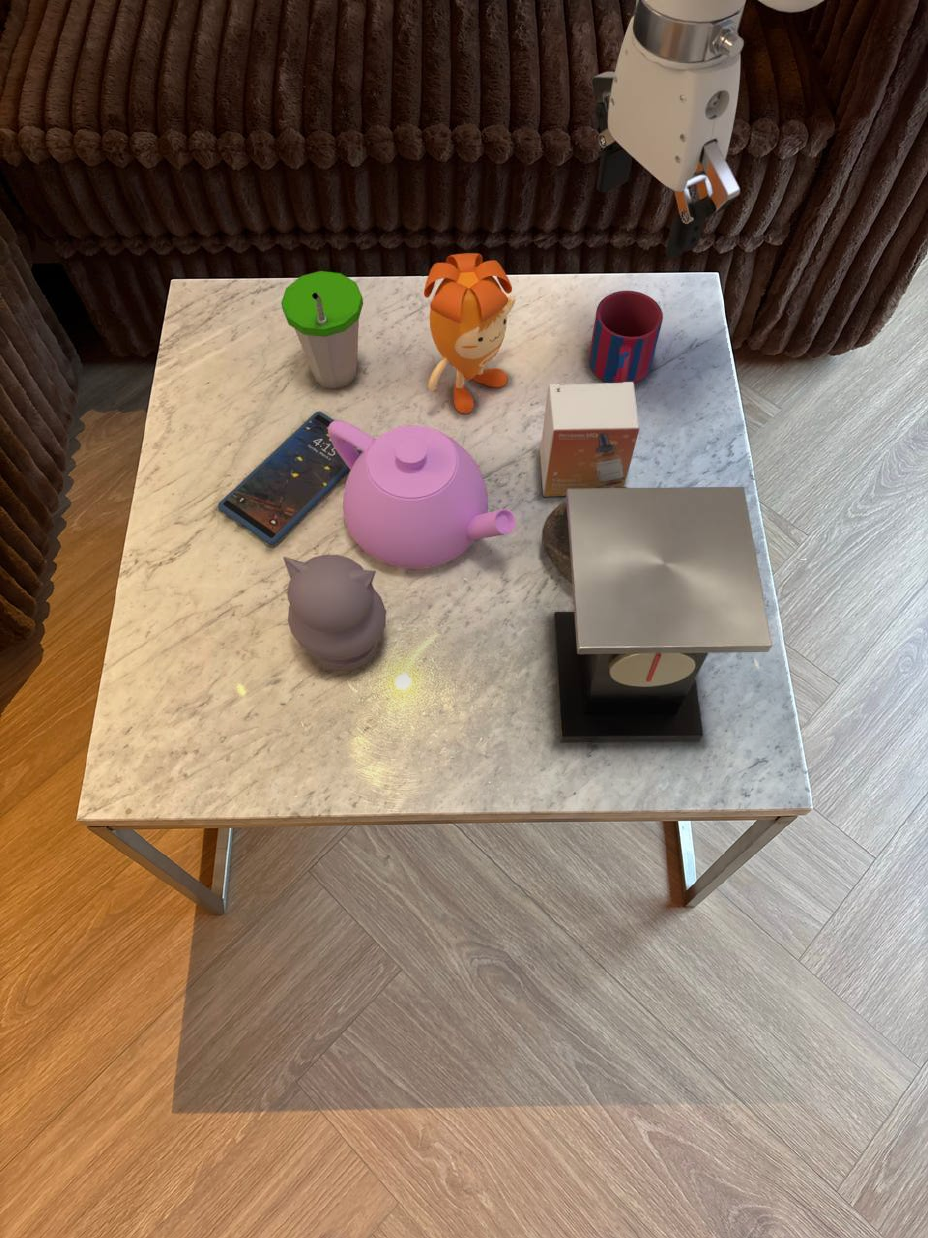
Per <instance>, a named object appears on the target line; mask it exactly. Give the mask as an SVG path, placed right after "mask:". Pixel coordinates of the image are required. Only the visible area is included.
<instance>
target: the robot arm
mask: <svg viewBox="0 0 928 1238" xmlns="http://www.w3.org/2000/svg"><path fill="white" fill-rule="evenodd" d="M746 1H747V0H636V3H635V9H634V14H633V16H632V17H631V19H630V21H629V24H628V26H627V29H626V32H625V34H624V37H623V40H622V43H621V46H620V51H619V54H618V58H617V61H616V64H615V65H616V66H615V70H614V71H604V72H602V73H599V74H597V75H595V76H593V77H592V79H591V80H592V87H593V94H594V95H593V96H594V102H595V103H596V105H595V107H594V114H595V117H596V121H597V123H598V126H599V131H600V133H599V134H598V136H597V141H598V145H599V146H600V147H601V148H602V150H601V153H600V161H599V168H598V175H597V180H596V190H597V191H598V192H600V193H603V194H605V193H607V192H609V191H611V190H614V189H615V188H617V187H619V186H621V185H624V184H625V183H627V182H628V181H629V179H630V174H631V170H632V169H631V168H632V163H633V158H634V160H635V161H636V162H638V163H639V164H640V166H642V167H643V168H644V169H645V170H647V171H648V173H650V174H651V175H652V176H653V177H654V178H656V179H657V180H658V181H659V182H660V183H662V185H664V186H665V187H667V188H669V189H670V190H672V191H673V193H674V197H675V200H676V204H677V205H676V206H677V208H678V213H677V214H676V215H675V216H673V218H672V222H671V225H670V226H671V227H670V229H669V234H668V239H667V241H666V246H665V250H664V251H665V255H666V256H667V257H668V258H669V259H674V258H675V257H677V256H679V255H682V254H683V253H685V252H689V251H691V250H693V249H695V248H696V247H697V246H698V245H699V243H700V239H701V236H702V232H703V228H704V224H705V221H706V218H710V217H711V216H714V215H715V214H717V213H719V212H721V211H723V210H725V209H727V207H728V206H729V205H730V204H732V202H733V201H734V200H735V199H736V198H738V196H739V195H740V194H741V188H740V186H739V184H738V182H737V180H736V178H735V176H734V174H733V172H732V170H731V168H730V166H729V164H728V163H727V160H726V159H727V156H728V151H729V147H730V144H731V143H730V142H731V138H732V133H733V128H734V123H735V118H736V112H737V107H738V98H739V92H740V80H741V52H742V50H743V47H744V44H745V41H744V39H743V38H742V37H741V36H739V29H740V26H741V21H742V19H743V13H744V10H745V6H746ZM757 1H758V2H760V3H761V4H763V5H764V6H766V7H768V8H771V9H773V10H775V11H779V12H784V13H800V12H804V11H806V10H809V9H811V8H814V7H816V6H818V5H820V4H821V3H822V2H824V1H825V0H757ZM695 185H696V190H697V195H698V198H699V199H698V200H697V201H695V202H693V201H692V197H691V194H690V193H691V192H690V189H689V188H690V187H693V186H695Z"/></svg>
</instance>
